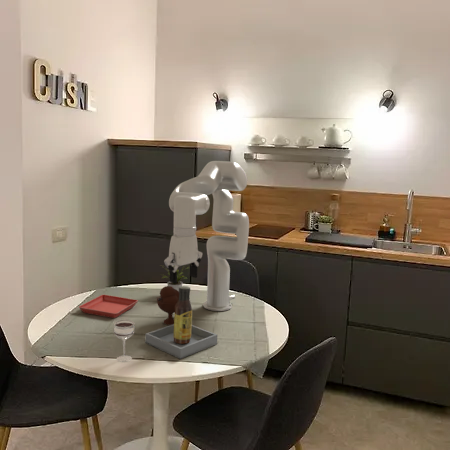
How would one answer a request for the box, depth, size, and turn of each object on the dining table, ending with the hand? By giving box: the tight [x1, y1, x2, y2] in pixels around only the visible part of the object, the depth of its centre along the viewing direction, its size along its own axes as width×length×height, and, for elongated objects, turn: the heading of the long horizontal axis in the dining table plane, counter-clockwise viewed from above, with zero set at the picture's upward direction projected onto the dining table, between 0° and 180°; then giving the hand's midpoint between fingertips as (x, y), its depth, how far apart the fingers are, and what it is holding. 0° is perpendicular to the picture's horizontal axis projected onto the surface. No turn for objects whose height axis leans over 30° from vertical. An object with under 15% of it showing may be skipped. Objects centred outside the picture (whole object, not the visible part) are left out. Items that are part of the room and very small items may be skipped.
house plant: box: [159, 265, 190, 291], centre depth 225 cm, size 14×14×16 cm
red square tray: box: [78, 294, 139, 319], centre depth 204 cm, size 18×18×3 cm
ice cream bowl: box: [156, 285, 179, 326], centre depth 191 cm, size 11×11×15 cm
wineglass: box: [113, 319, 136, 363], centre depth 158 cm, size 7×7×12 cm
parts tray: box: [144, 324, 218, 360], centre depth 173 cm, size 18×18×4 cm
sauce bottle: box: [173, 285, 193, 344], centre depth 172 cm, size 7×6×20 cm
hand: (183, 279), depth 169 cm, fingers open, 9 cm apart
